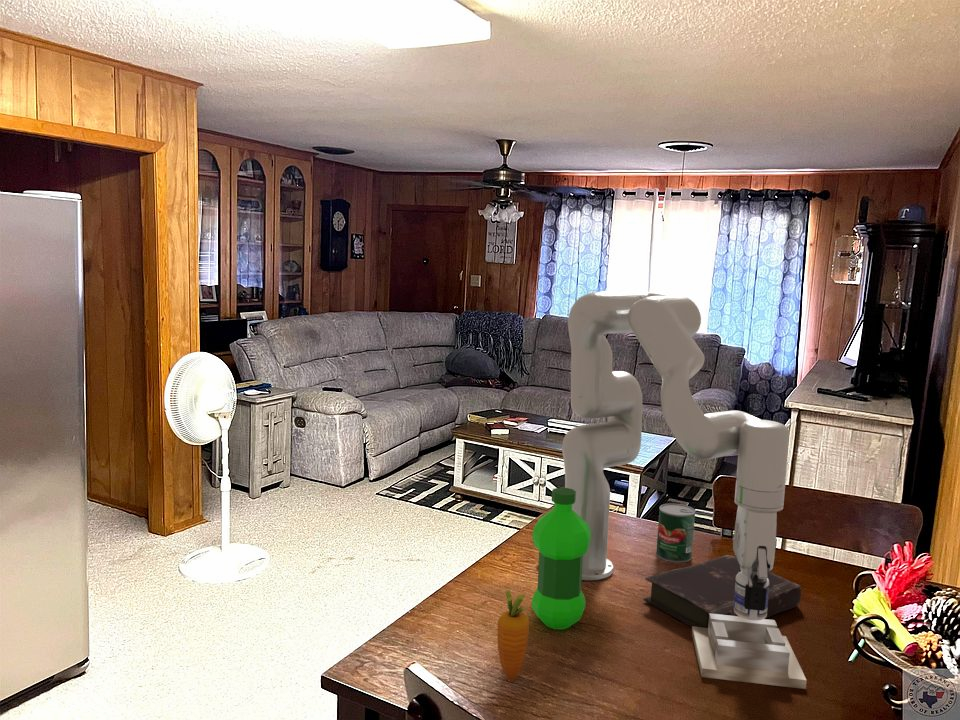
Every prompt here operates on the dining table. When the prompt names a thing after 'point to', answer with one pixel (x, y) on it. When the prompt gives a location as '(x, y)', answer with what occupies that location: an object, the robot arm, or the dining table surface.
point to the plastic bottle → (560, 562)
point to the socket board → (744, 673)
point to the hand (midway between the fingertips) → (750, 599)
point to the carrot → (512, 637)
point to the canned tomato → (675, 533)
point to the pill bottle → (740, 596)
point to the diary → (713, 591)
